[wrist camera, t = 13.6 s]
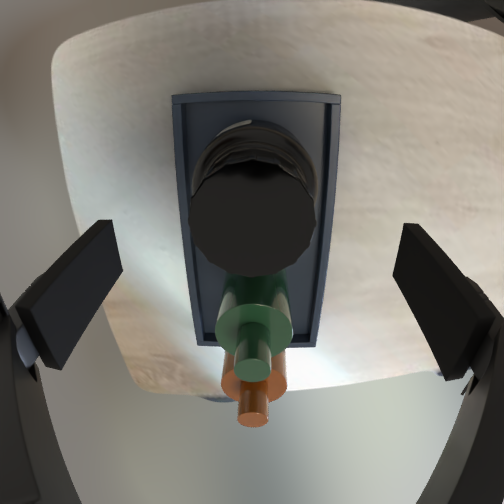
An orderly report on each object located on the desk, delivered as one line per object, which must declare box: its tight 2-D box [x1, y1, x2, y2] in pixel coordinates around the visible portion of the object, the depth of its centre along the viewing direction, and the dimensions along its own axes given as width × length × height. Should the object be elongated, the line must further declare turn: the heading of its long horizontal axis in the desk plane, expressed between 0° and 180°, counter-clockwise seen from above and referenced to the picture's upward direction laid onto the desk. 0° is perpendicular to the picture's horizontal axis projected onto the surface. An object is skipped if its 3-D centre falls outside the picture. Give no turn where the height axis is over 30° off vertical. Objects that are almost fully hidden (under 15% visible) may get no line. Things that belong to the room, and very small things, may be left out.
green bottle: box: [215, 268, 293, 382], centre depth 25 cm, size 6×6×14 cm
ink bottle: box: [188, 120, 318, 278], centre depth 22 cm, size 10×9×12 cm
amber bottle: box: [221, 350, 287, 427], centre depth 28 cm, size 6×6×14 cm
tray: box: [172, 91, 341, 348], centre depth 30 cm, size 27×14×2 cm, turn 0°
